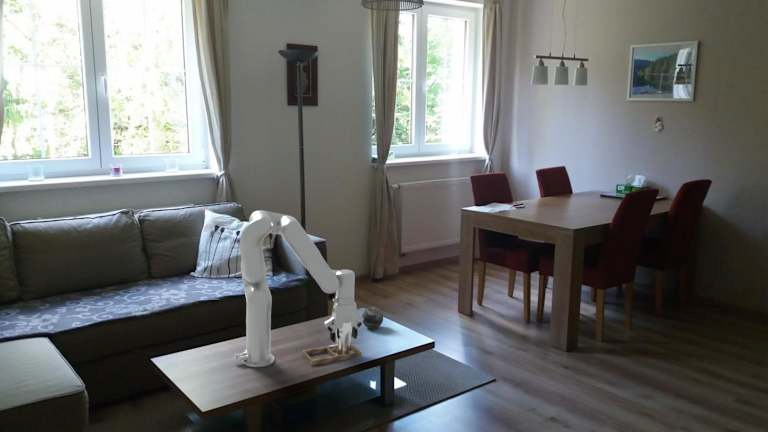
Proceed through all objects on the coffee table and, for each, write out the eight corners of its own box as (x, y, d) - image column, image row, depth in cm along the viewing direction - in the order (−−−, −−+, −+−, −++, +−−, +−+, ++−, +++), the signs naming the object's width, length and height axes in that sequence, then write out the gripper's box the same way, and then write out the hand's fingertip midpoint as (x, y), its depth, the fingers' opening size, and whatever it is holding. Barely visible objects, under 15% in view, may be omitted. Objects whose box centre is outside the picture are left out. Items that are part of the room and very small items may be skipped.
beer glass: (352, 351, 262) (354, 317, 260) (350, 358, 256) (351, 323, 253) (336, 350, 263) (337, 316, 260) (333, 356, 256) (334, 322, 253)
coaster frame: (311, 365, 247) (311, 360, 247) (301, 355, 257) (301, 349, 256) (361, 356, 257) (361, 351, 257) (350, 347, 267) (350, 342, 266)
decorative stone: (367, 333, 284) (368, 312, 282) (357, 326, 292) (358, 305, 290) (386, 330, 288) (387, 309, 287) (376, 323, 297) (377, 303, 295)
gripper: (328, 305, 248) (327, 345, 251) (367, 300, 256) (366, 339, 259) (321, 299, 254) (321, 339, 257) (360, 294, 262) (358, 333, 265)
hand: (343, 339), depth 258 cm, fingers open, 9 cm apart
